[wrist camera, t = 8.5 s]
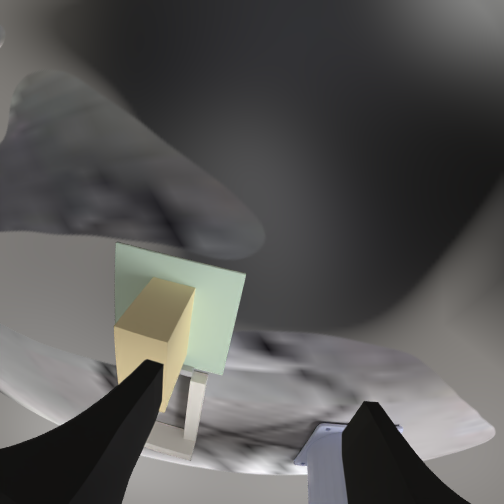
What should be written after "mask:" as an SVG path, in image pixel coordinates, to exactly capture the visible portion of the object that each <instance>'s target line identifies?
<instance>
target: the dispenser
mask: <svg viewBox="0 0 504 504" xmlns="http://www.w3.org/2000/svg"><path fill="white" fill-rule="evenodd" d="M179 374H181V375H184V376H188V377H191V380H190V387H189V395H188V403H187V411H186V419H185V427H184V429H182V428H178V427H175V426H171V425H168V424H165V423H161V422H158V421H155V424H154V426H153V428H152V430H151V433H150V435H149V437H148V439H147V441H146V443H145V445H144V447H145V448H148V449H151V450H154V451H157V452H160V453H164V454H167V455H171V456H174V457H178V458H181V459H185V460H189V461H191V458H192V454H193V450H194V446H195V442H196V438H197V433H198V427H199V422H200V416H201V411H202V406H203V400H204V395H205V390H206V384H207V379H208V374H205V373H201V372H197V371H194V367H191V366H187V365H184V364H183V366H182V368H181V371H180V373H179Z"/></svg>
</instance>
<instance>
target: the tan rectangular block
mask: <svg viewBox="0 0 504 504" xmlns="http://www.w3.org/2000/svg"><path fill="white" fill-rule="evenodd" d="M195 289H196V288H195V287H191V286H187V285H183V284H179V283H175V282H171V281H167V280H163V279H159V278H156V277H153V278H152V279H151V280H150V282H149V283H148V284H147V285H146V286H145V288H144V289H143V290H142V291H141V293H140V294H139V295H138V296H137V297H136V299H135V300H134V301H133V302H132V304H131V305H130V306H129V307H128V309H127V310H126V311H125V312H124V314H123V315H122V316H121V317H120V319H119V320H118V321H117V323H116V324H115V325H114V339H115V352H116V365H117V375H118V384H120V383H121V382H122V381H123V380H124V379H125V378H126V377H128V376H129V375H130V374H131V373H132V372H133V371H134V370H135V369H136V368H137V367H138V366H139V365H140V364H141V363H142V362H143V361H144V360H146V359H149V360H152V361H155V362H159V363H162V364H164V369H163V392H162V403H161V406H160V409H159V411H160V412H163V413H164V412H165V410H166V407H167V405H168V402H169V399H170V397H171V394H172V391H173V389H174V386H175V384H176V381H177V378H178V376H179V373H180V371H181V368H182V366H183V363H184V361H185V358H186V355H187V349H188V340H189V333H190V325H191V317H192V310H193V303H194V296H195Z"/></svg>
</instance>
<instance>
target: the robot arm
mask: <svg viewBox="0 0 504 504" xmlns="http://www.w3.org/2000/svg"><path fill="white" fill-rule="evenodd" d="M163 369H164V364H162V363H159V362H155V361H152V360H149V359H146V360H144V361H143V362H142V363H141V364H140V365H139V366H138V367H137V368H136V369H135V370H134V371H133V372H132V373H131V374H130V375H129V376H128V377H126V378H125V379H124V380H123V381H122V382H121V383H120V384H119V385H117V386H116V387H115V388H114V389H113V390H111V391H110V392H109V393H108V394H107V395H105V396H104V397H103V398H102V399H100V400H99V401H97V402H96V403H95V404H93V405H92V406H91V407H89V408H88V409H87V410H85V411H84V412H82V413H81V414H79V415H77V416H76V417H74V418H73V419H71V420H69V421H68V422H66V423H64V424H62V425H60V426H59V427H57V428H55V429H53V430H51V431H49V432H47V433H45V434H42V435H40V436H38V437H36V438H33V439H30V440H27V441H24V442H22V443H19V444H16V445H13V446H10V447H6V448H2V449H0V504H122V500H123V497H124V494H125V491H126V487H127V485H128V481H129V478H130V476H131V474H132V471H133V469H134V467H135V465H136V462H137V460H138V458H139V456H140V454H141V452H142V450H143V447H144V445H145V443H146V441H147V439H148V437H149V435H150V433H151V430H152V428H153V426H154V424H155V421H156V418H157V415H158V412H159V409H160V406H161V403H162V392H163ZM402 432H403V427H401V426H395V425H394V423H393V422H392V420H391V419H390V418H389V416H388V415H387V413H386V412H385V411H384V409H383V408H382V407H381V405H380V404H379V403H378V402H368V401H364V402H363V403H362V405H361V406H360V408H359V409H358V411H357V412H356V414H355V415H354V416H353V418H352V419H351V421H350V422H349V423H348V425H340V424H328V423H322V424H319V425H318V426H317V428H316V429H315V431H314V432H313V434H312V435H311V437H310V438H309V440H308V441H307V443H306V444H305V446H304V447H303V448H302V450H301V451H300V453H299V454H298V456H297V457H296V458H295V460H294V464H295V465H302V466H307V470H308V496H309V497H308V498H309V504H471V503H469V502H468V501H466V500H464V499H463V498H462V497H460V496H459V495H457V494H456V493H455V492H454V491H453V490H451V489H450V488H449V487H448V486H446V485H445V484H444V483H443V482H442V481H441V480H440V479H439V478H438V477H437V476H436V475H435V474H434V473H433V472H432V471H431V470H430V469H429V468H428V467H427V466H426V465H425V463H424V462H423V461H422V460H421V459H420V458H419V456H418V455H417V454H416V453H415V451H414V450H413V449H412V448H411V446H410V445H409V444H408V442H407V441H406V440H405V438H404V437H403V436H402V434H401V433H402Z"/></svg>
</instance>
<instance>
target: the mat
mask: <svg viewBox="0 0 504 504" xmlns="http://www.w3.org/2000/svg"><path fill="white" fill-rule="evenodd" d="M153 277H156V278H159V279H163V280H167V281H171V282H175V283H179V284H183V285H187V286H191V287H195V288H196V289H195V296H194V303H193V310H192V317H191V325H190V333H189V340H188V349H187V355H186V358H185V361H184V363H183V364H184V365H187V366H191V367H194V368H195V369H199V370H203V371H207V372H211V373H215V374H220V375H223V371H224V366H225V362H226V358H227V354H228V349H229V345H230V341H231V337H232V332H233V328H234V324H235V320H236V315H237V311H238V307H239V303H240V298H241V294H242V290H243V286H244V281H245V277H246V273H242V272H238V271H234V270H229V269H226V268H221V267H217V266H213V265H209V264H205V263H200V262H196V261H192V260H188V259H184V258H180V257H176V256H172V255H168V254H163V253H160V252H156V251H152V250H147V249H143V248H140V247H135V246H132V245H128V244H124V243H120V242H116V250H115V324H116V323H117V321H118V320H119V319H120V317H121V316H122V315H123V314H124V312H125V311H126V310H127V309H128V307H129V306H130V305H131V304H132V302H133V301H134V300H135V299H136V297H137V296H138V295H139V294H140V293H141V291H142V290H143V289H144V288H145V286H146V285H147V284H148V283H149V282H150V280H151V279H152V278H153Z"/></svg>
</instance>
